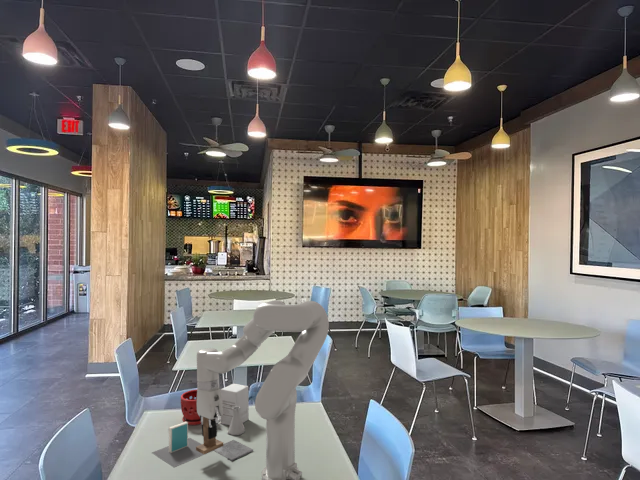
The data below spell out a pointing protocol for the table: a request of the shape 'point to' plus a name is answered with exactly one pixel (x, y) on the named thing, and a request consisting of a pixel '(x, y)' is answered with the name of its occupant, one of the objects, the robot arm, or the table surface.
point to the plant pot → (190, 408)
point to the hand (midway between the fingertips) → (209, 435)
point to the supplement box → (234, 402)
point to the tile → (178, 437)
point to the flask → (236, 423)
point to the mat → (179, 454)
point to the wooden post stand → (208, 440)
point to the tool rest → (233, 450)
